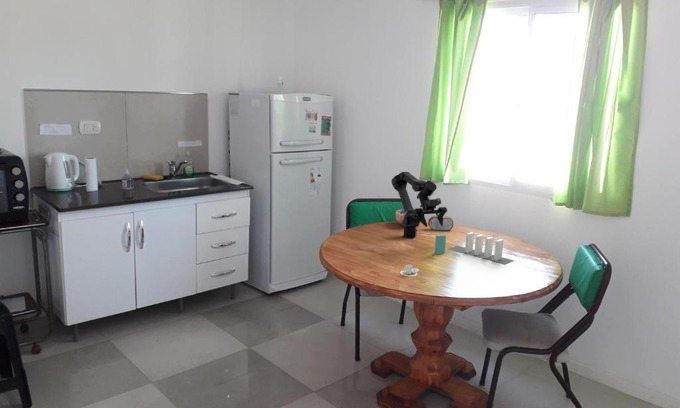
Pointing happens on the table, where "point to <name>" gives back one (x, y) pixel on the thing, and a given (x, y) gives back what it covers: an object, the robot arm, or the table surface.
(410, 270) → the teacup and saucer
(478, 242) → the domino
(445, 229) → the tin
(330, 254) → the table surface
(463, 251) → the mat
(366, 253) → the table surface
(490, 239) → the domino
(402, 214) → the cell model
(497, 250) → the domino
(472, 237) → the domino
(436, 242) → the teal domino
